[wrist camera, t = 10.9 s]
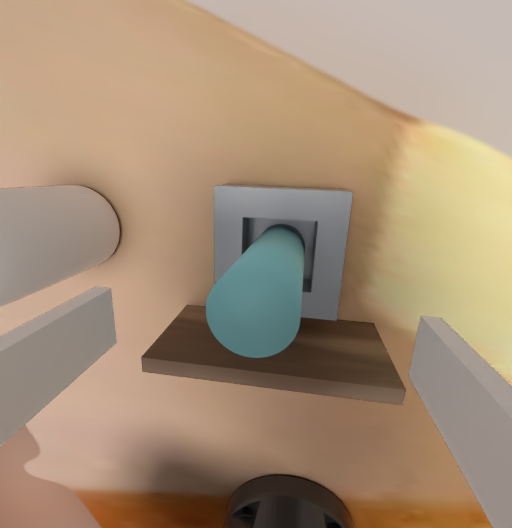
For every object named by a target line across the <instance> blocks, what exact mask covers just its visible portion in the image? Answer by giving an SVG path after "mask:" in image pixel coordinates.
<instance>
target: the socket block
mask: <svg viewBox="0 0 512 528" xmlns="http://www.w3.org/2000/svg"><path fill="white" fill-rule="evenodd" d="M352 197H353V192H352V191H349V190H346V189H330V188H308V187H285V186H262V185H239V184H223V185H215V186H214V285H215V283H216V282H217V281H218V280H219V279H220V278H221V277H222V276H223V275H224V274H225V273H226V272H227V271H228V270H229V268H230V267H231V266H232V265H233V264H234V263H235V262H236V261H237V260H238V259H239V258H240V257H241V256H242V255H243V253H244V252H245V251H246V250H247V249H248V248H249V247H250V246H251V245H252V244H253V243H254V242H255V241H256V240H257V238H258V237H259V236H260V235H261V234H262V233H263V232H264V231H265V230H266V229H267V228H269V227H270V226H272V225H275V224H287V225H290V226H293V227H294V228H296V229H297V230H298V231H299V232H300V233H301V235H302V237H303V239H304V242H305V255H304V271H303V287H302V303H301V317H304V318H314V319H324V320H334V321H337V314H338V306H339V298H340V290H341V283H342V275H343V267H344V259H345V251H346V244H347V236H348V228H349V220H350V212H351V204H352Z"/></svg>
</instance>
